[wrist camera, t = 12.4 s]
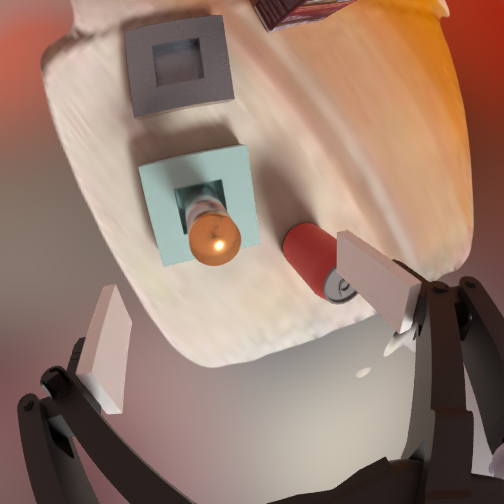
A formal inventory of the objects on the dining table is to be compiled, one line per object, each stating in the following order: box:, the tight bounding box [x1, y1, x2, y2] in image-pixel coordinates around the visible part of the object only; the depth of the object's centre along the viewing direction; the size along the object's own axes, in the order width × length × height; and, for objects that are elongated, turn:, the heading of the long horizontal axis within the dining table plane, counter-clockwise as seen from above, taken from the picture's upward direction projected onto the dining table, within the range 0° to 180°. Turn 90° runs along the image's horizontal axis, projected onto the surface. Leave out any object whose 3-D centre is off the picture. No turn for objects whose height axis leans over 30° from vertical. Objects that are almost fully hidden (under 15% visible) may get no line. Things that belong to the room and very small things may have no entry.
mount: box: [125, 15, 235, 119], centre depth 26 cm, size 11×11×3 cm
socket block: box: [138, 144, 260, 266], centre depth 33 cm, size 12×12×4 cm
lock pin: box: [184, 185, 241, 266], centre depth 28 cm, size 4×4×14 cm
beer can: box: [283, 223, 358, 305], centre depth 35 cm, size 7×7×12 cm
